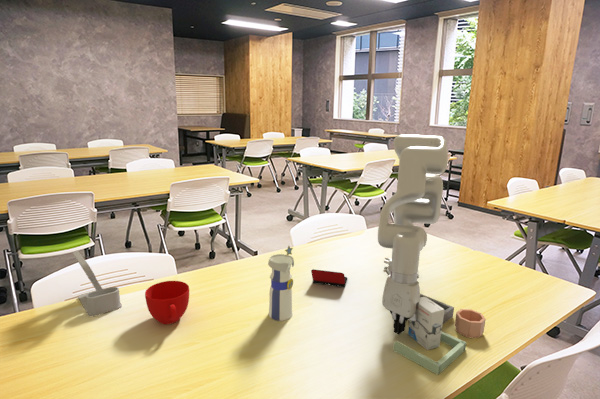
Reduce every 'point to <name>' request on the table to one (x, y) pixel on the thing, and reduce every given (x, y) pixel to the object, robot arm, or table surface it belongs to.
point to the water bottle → (281, 286)
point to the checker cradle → (448, 309)
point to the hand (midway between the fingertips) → (398, 331)
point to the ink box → (427, 324)
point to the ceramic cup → (167, 301)
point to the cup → (469, 323)
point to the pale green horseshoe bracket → (429, 363)
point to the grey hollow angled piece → (97, 293)
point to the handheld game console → (329, 278)
